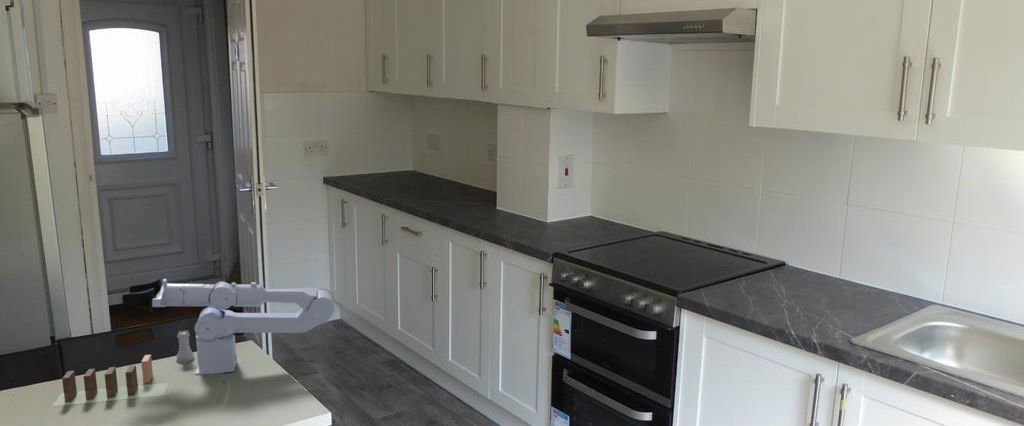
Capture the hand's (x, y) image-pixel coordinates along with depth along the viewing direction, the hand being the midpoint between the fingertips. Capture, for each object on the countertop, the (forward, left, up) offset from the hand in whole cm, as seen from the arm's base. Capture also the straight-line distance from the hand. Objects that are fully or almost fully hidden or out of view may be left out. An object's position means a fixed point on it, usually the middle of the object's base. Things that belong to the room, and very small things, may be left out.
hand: (126, 294), depth 190 cm
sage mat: (+2, +11, -22) cm, 25 cm away
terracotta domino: (-4, +4, -22) cm, 22 cm away
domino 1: (+11, +11, -21) cm, 27 cm away
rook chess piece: (-11, -8, -22) cm, 26 cm away
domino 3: (+2, +11, -21) cm, 24 cm away
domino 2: (+7, +11, -21) cm, 25 cm away
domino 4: (-2, +11, -21) cm, 24 cm away
